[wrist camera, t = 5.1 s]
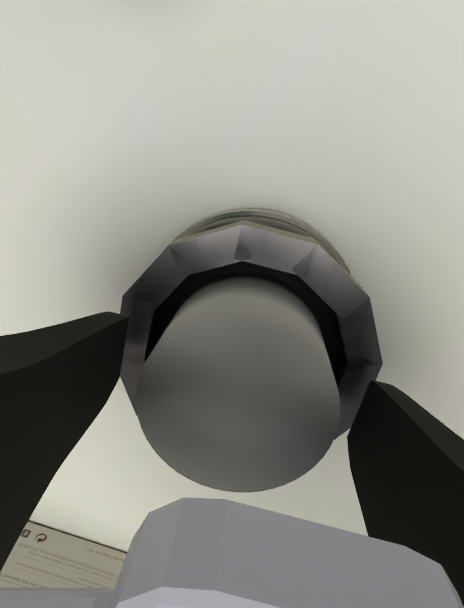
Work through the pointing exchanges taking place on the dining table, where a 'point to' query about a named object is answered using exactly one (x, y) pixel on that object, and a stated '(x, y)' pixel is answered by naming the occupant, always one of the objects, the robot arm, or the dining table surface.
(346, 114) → the dining table surface
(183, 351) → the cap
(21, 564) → the supplement box
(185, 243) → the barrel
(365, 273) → the dining table surface
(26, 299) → the dining table surface
